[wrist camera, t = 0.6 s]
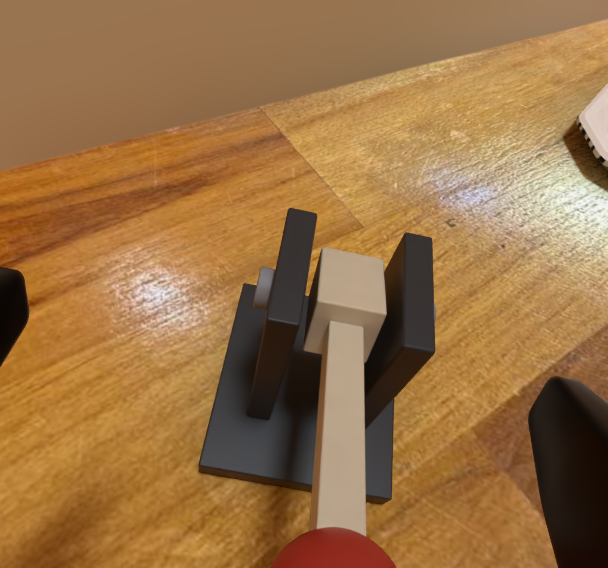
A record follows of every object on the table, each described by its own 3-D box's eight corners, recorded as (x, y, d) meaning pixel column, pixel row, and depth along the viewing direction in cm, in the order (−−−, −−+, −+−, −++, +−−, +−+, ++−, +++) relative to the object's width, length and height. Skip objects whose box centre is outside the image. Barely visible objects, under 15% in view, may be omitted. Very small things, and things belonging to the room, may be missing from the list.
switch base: (383, 504, 21) (493, 442, 13) (198, 472, 20) (190, 386, 12) (389, 324, 26) (471, 197, 18) (242, 295, 25) (257, 151, 17)
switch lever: (387, 734, 9) (446, 710, 7) (237, 712, 9) (257, 681, 7) (373, 314, 18) (397, 254, 17) (296, 299, 18) (312, 236, 16)
